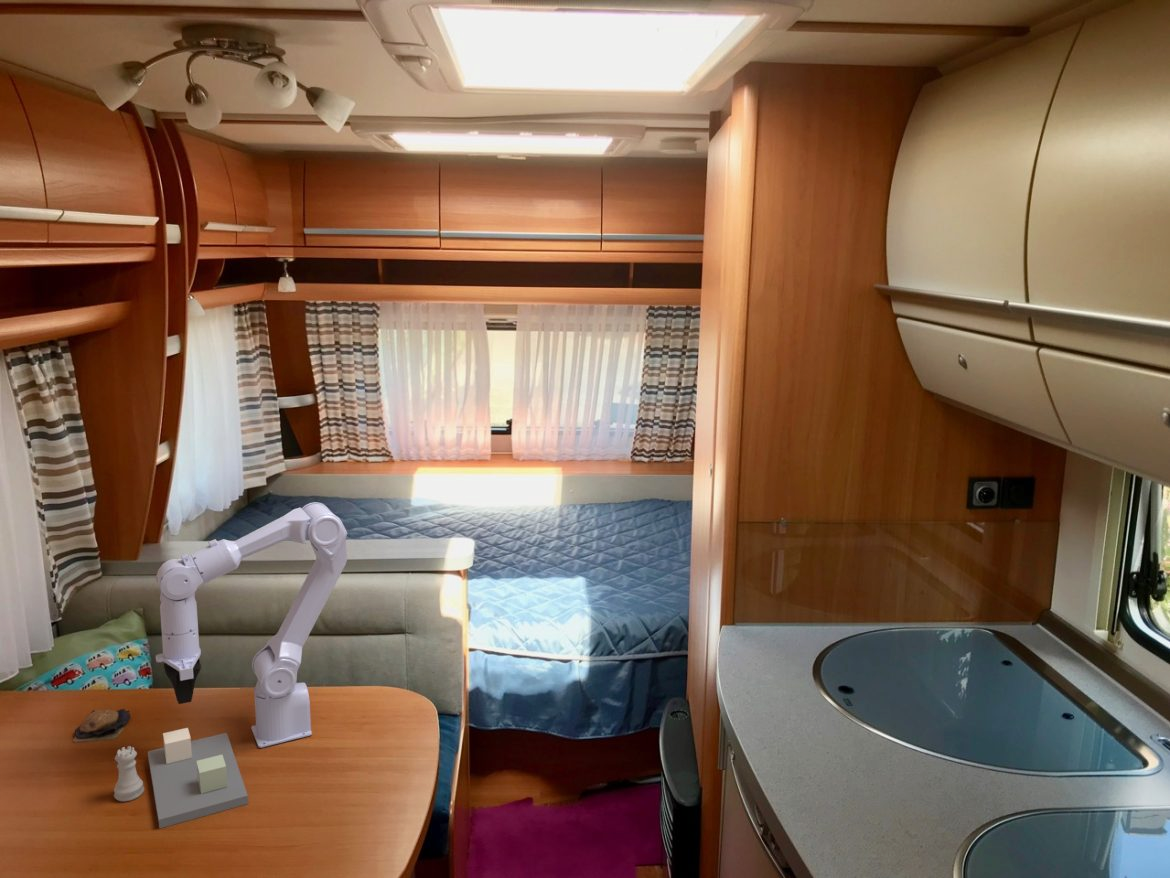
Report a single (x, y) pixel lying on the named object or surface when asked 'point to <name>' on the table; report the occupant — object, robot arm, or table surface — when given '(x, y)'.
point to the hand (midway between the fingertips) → (184, 701)
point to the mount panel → (194, 783)
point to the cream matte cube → (177, 745)
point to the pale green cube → (211, 773)
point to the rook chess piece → (127, 776)
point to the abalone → (102, 725)
